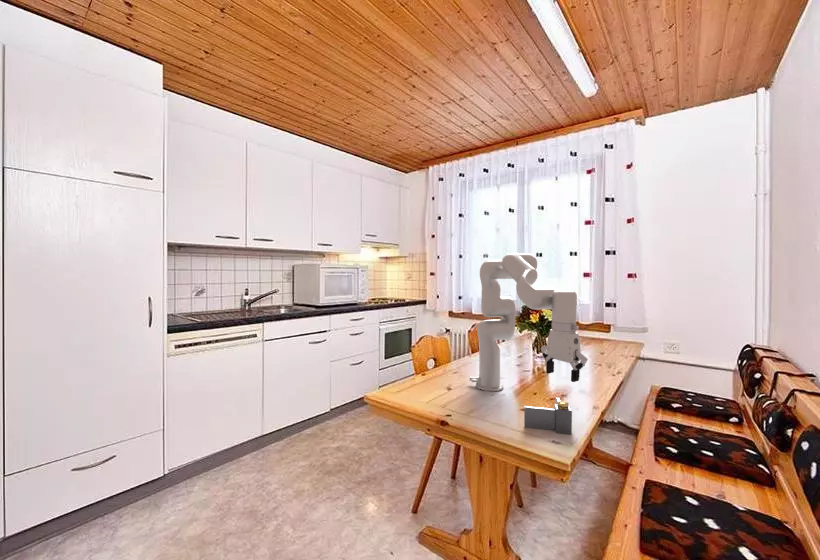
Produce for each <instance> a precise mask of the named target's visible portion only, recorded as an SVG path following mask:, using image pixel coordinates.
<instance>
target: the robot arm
mask: <svg viewBox="0 0 820 560" xmlns="http://www.w3.org/2000/svg"><path fill="white" fill-rule="evenodd" d="M537 268H538V260H537V258H536V257H535V255H534V254H532V253H525V252H523V253H521V252H520V253H519V252H512V253H511V252H510V253H507V254H505V255H504V256H503V257H502V259H492V260H491V259H490V260H486V261H484V262H483V263H482V264H481V266H480V268H479V278H480V284H481V304H480V307H481V308H480V309H481V314H482V315H483V316H484V317H487V318H497V317H498V319H485V320H482V321H481V320H480V322H479V323H478V324H477V327H476V328H477V329H476V331H477V337H478V349H479V351H478V354H479V357H478V358H479V360H478V362H479V363H478V367H479V368H478V371H479V373H478V376H476V377H475V376H469V381H471V383H475V387H476V388H477V389H478V390H480V389H481V391H485V392H499V391H500V392H501V391H502V390H503V389H504V384H503V383H501V349H500V346H499V345H498V343H497V341H501V340H502V341H503V340H509V339H511V338H512V339H513V337H514V335H515V330H516V310H517V309H516V303H515V301H514V299H513V298H512V297H510V296H508V295H507V296H506V295H504V296H503V295H502V296H501V291H502V289H501V285H500V283H499V282H498V280H513V281H514V282H515V283H516V286H515V287H516V295H517V296H518V298H519V299H520V301H521V302H522V303H523V304H524V305H525V306H526V307H527V308H529V309H531V310H536V311H537V310H539V311H540V310H551V311H552V312H551V329H549V332H548V336H547V337H548V339H547V345H544V346H542V347H540V350H541V351H540V352H541V354H542V356H543V358H544V362H546V363H545V364H546V366H545V368H546V374H547V375H549V374H553V373H554V372H555V361H554V360H557V361H561V362H564V363H567V364H568V363H569V364H570V366H571V368H572V369H571V371H570V373H571V374H570V381H571V382H573V383H576V382H578V381H580V374H581V373H580V371H581V369H582V368H584V367H585V366H586V364H587V362H588V358H587V356H585V355H584V354H583V353H582V352H581V341H580V335H579V332H577V331H579V328H580V326H579V325H577V306H578V294H577V293H576V291H573V290H566V289H565V290H564V289H562V288H561V289H560V288H556V287H550V288H549V287H543V288H542V287H538V288H537V287H534V286H532V285H533V284H535V282H536V281H537V279H538V272H537Z"/></svg>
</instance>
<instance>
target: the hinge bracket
mask: <svg viewBox="0 0 820 560" xmlns="http://www.w3.org/2000/svg"><path fill="white" fill-rule="evenodd" d="M559 401H562V400H561V399H560V397H555V403H554V406H553V408H549V407H539V406H529V405H524V406H523V407H524V408H523V409H524V414H523V415H524V418H523V419H524V421H523V422H524V423H523V424H524V425H523V427H524V428H526V429H527V428H529V429H537V430H544V431H545V430H546V431H547V430H548V431H555V433H556V434H562V435H572V434H573V425H572V424H573V410H572V408H571V406H570V405H569V407H568V408H567V409H560V407H559V406H558V402H559Z"/></svg>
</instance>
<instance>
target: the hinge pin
mask: <svg viewBox="0 0 820 560" xmlns="http://www.w3.org/2000/svg"><path fill="white" fill-rule="evenodd" d="M569 403H570V402H568V401H563V400H561V401H559V402H558V406H559V407H560V409H567V408H568V407H569V406H570V404H569Z"/></svg>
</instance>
